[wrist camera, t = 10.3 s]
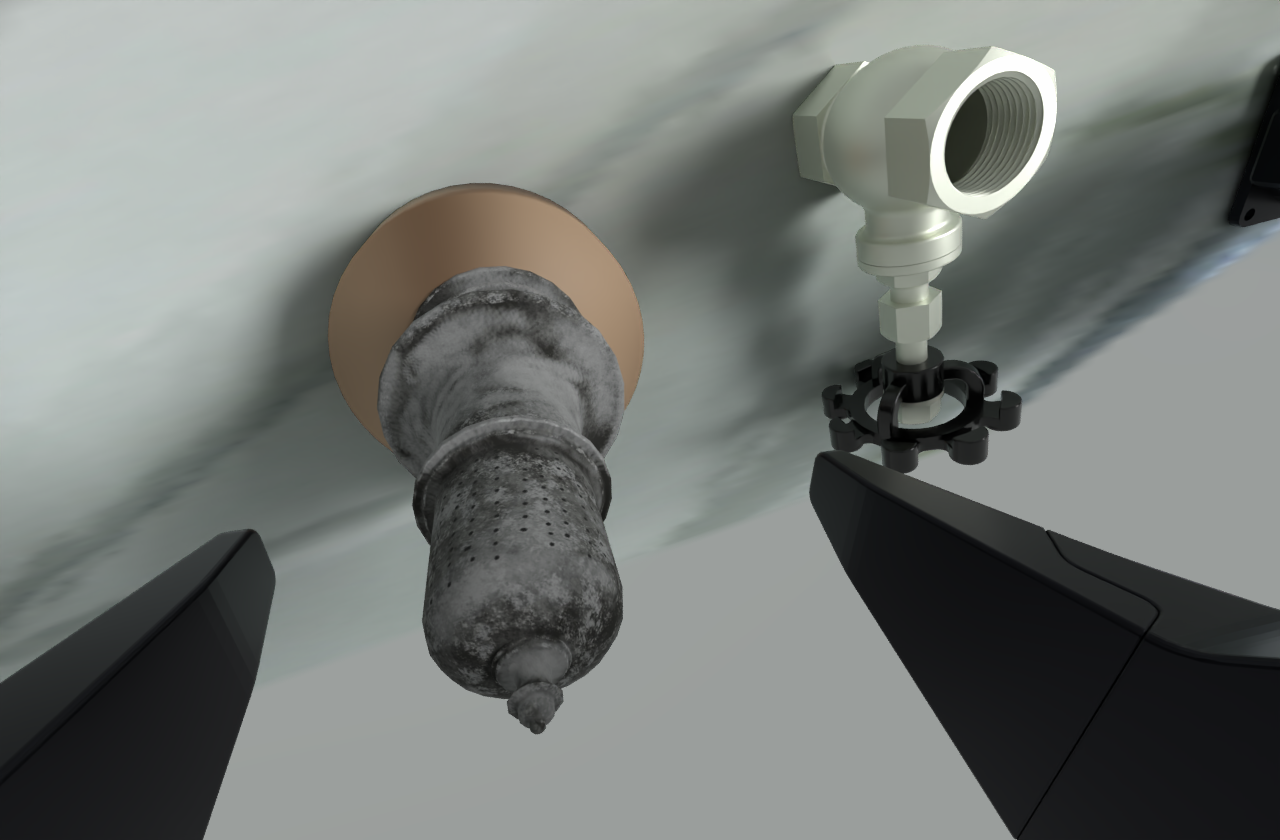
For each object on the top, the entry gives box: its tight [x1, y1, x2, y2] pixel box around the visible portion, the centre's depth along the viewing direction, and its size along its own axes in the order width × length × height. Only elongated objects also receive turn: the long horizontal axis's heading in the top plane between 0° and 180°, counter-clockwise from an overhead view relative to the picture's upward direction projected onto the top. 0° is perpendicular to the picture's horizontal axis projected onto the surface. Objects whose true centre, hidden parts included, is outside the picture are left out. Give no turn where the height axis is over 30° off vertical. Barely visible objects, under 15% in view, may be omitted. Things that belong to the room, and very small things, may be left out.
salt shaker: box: [377, 266, 624, 734], centre depth 12 cm, size 6×6×12 cm
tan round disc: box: [328, 183, 644, 452], centre depth 18 cm, size 9×9×2 cm
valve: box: [793, 45, 1057, 474], centre depth 18 cm, size 7×7×12 cm
